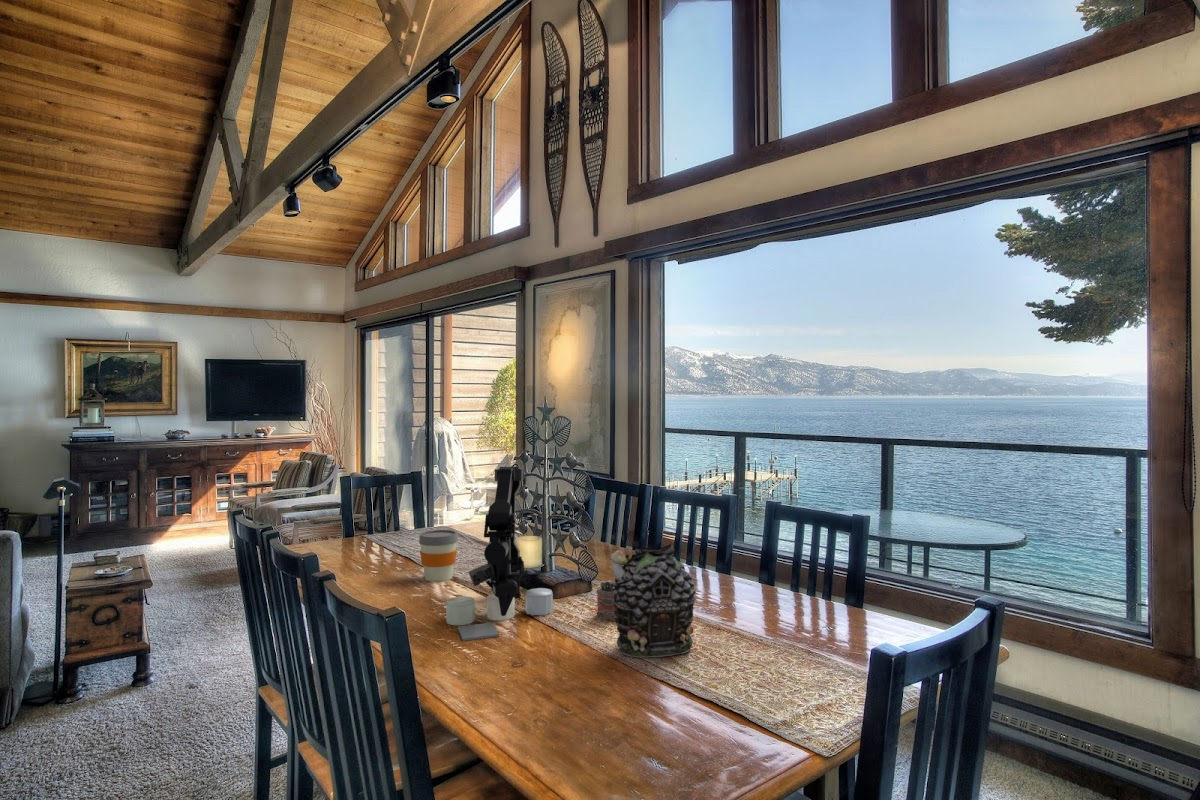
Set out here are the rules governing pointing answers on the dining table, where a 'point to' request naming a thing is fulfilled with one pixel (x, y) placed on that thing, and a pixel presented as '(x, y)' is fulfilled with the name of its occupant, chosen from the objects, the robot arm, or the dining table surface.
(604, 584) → the lighter
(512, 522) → the robot arm
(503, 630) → the dining table surface
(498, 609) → the cream cup
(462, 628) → the slate coaster
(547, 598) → the light grey cylinder
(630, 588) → the decorative house
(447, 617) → the sage cup
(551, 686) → the dining table surface
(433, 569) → the reusable coffee cup
